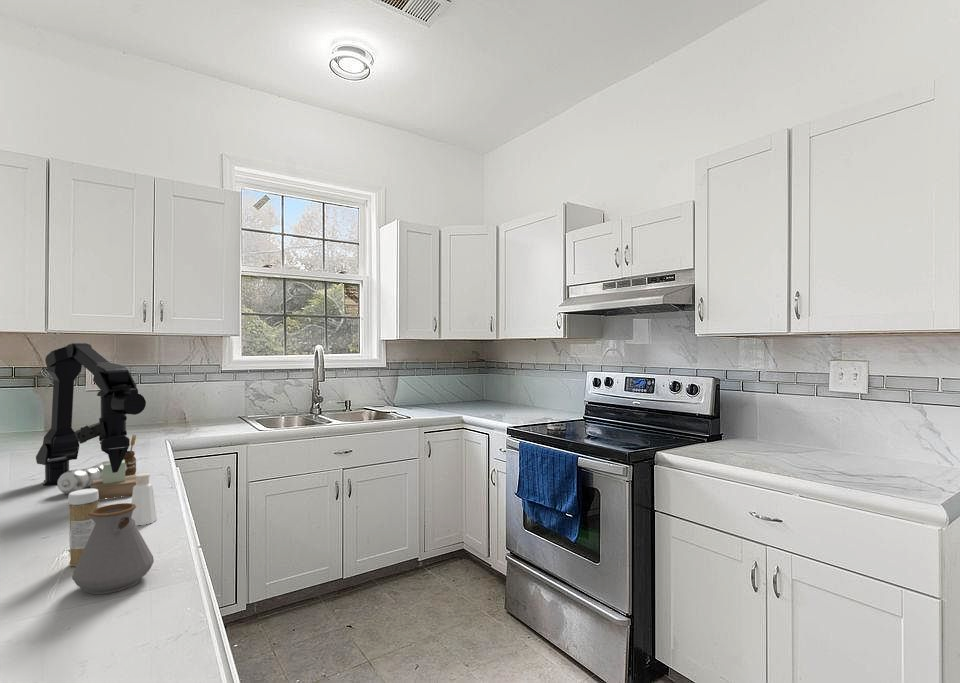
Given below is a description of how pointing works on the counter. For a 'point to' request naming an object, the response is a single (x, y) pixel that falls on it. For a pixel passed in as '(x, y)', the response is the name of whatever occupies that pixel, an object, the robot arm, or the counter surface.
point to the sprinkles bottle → (81, 520)
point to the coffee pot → (113, 552)
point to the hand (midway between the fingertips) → (114, 469)
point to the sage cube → (113, 477)
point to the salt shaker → (143, 501)
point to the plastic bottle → (80, 478)
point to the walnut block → (115, 487)
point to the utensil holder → (130, 459)
